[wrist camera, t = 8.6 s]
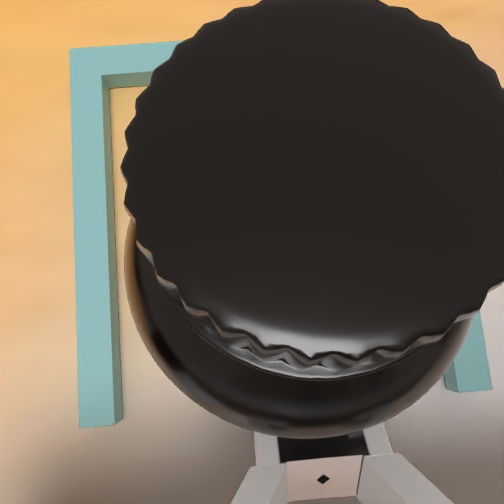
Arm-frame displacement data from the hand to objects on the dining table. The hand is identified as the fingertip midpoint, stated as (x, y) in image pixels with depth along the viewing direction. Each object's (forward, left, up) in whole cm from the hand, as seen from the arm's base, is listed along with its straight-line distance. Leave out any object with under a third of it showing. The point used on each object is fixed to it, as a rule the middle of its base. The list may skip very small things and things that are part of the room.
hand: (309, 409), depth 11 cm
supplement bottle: (0, -2, -5) cm, 6 cm away
